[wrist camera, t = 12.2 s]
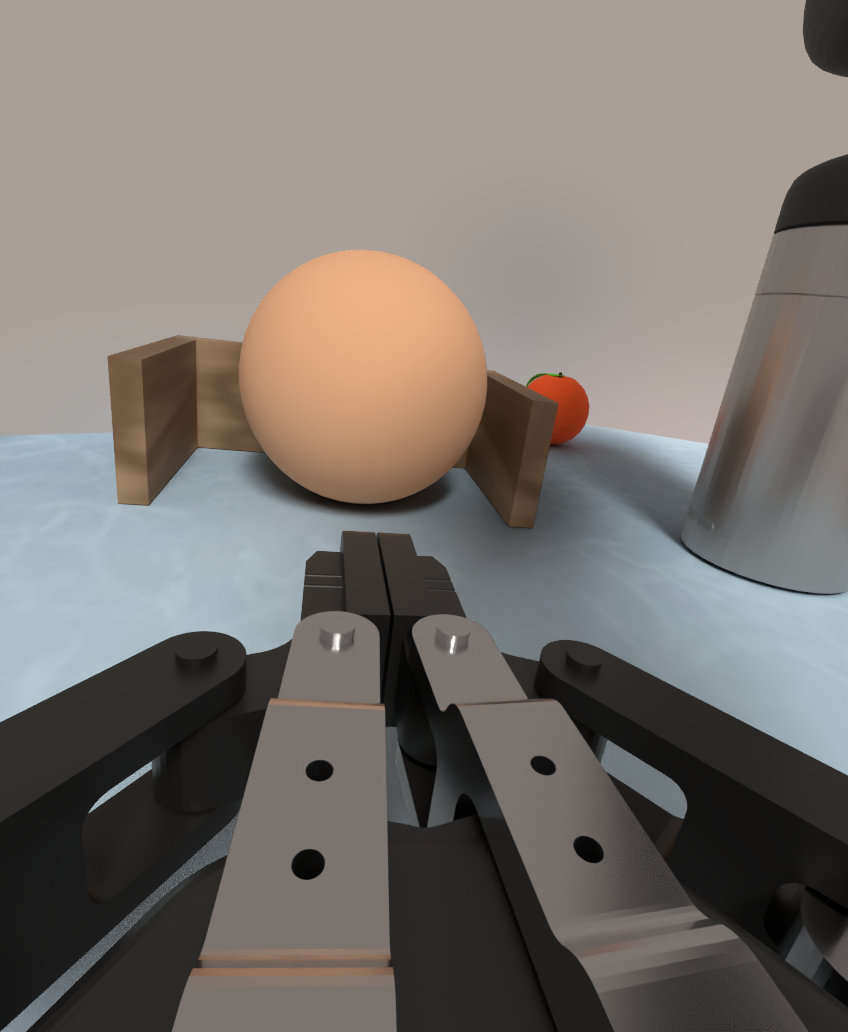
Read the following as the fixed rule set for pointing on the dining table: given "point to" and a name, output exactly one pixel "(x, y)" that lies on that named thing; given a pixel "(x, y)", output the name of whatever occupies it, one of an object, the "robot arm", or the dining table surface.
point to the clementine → (563, 404)
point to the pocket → (223, 425)
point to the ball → (363, 376)
